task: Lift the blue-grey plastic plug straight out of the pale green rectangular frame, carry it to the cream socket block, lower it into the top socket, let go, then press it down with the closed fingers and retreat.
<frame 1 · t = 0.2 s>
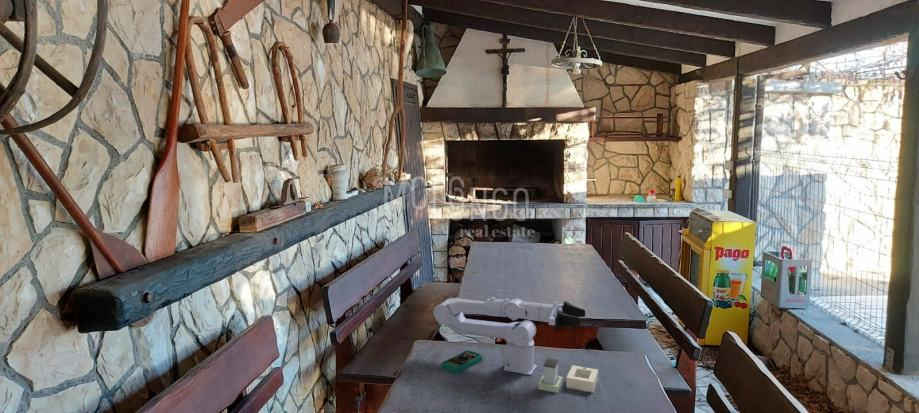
hand: (582, 317, 180), 21 cm above the table, tool horizontal, fingers open, 7 cm apart
digital multimeter: (461, 366, 193), on the table
pale green rectangular frame: (550, 385, 178), on the table
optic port: (582, 383, 180), on the table
plug: (550, 386, 178), resting in pale green rectangular frame
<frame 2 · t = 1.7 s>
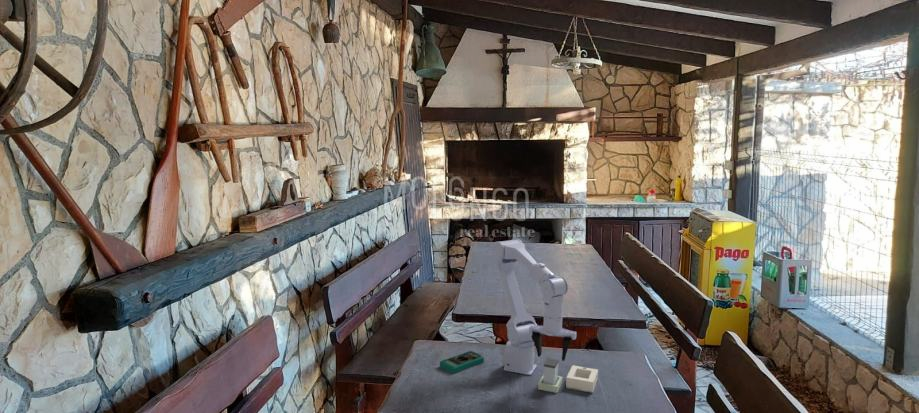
hand: (551, 357, 177), 9 cm above the table, tool pointing down, fingers open, 7 cm apart
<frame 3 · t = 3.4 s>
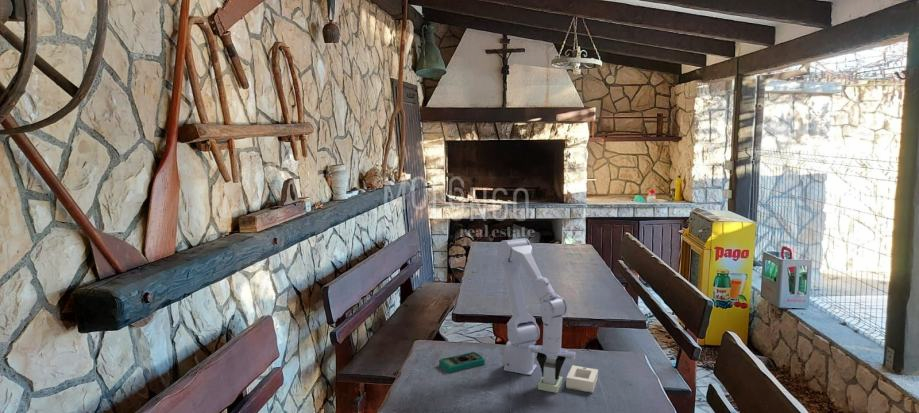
hand: (550, 377, 178), 3 cm above the table, tool pointing down, fingers closed on plug, 3 cm apart
plug: (550, 386, 178), resting in pale green rectangular frame, touching gripper
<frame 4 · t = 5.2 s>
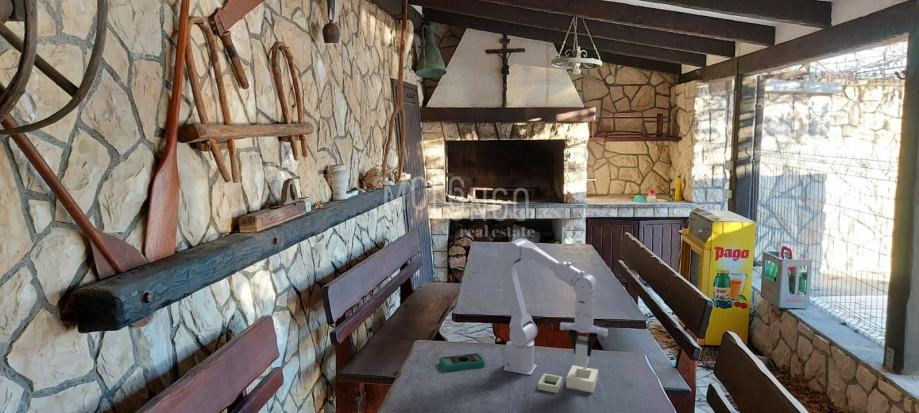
hand: (582, 354, 178), 10 cm above the table, tool pointing down, fingers closed on plug, 3 cm apart
plug: (582, 363, 179), point 7 cm above the table, touching gripper
when the fingers open (4 cm above the table, at t = 6.9 s): plug stays where it is, resting on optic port.
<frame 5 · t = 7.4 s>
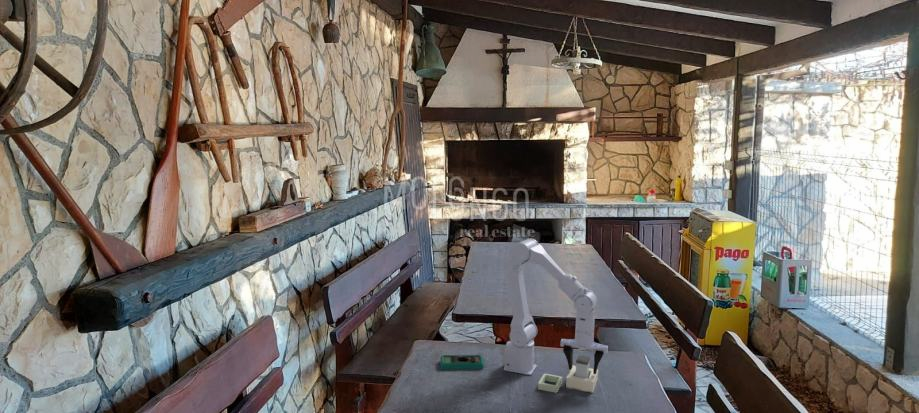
hand: (582, 370, 179), 4 cm above the table, tool pointing down, fingers open, 7 cm apart
plug: (582, 382, 180), resting on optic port
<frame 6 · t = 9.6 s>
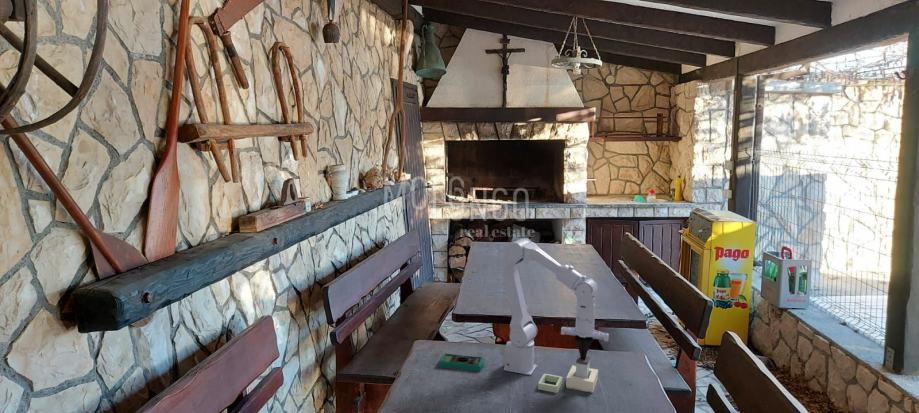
hand: (583, 358, 179), 8 cm above the table, tool pointing down, fingers closed, pressing on plug
plug: (582, 382, 180), resting on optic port, touching gripper
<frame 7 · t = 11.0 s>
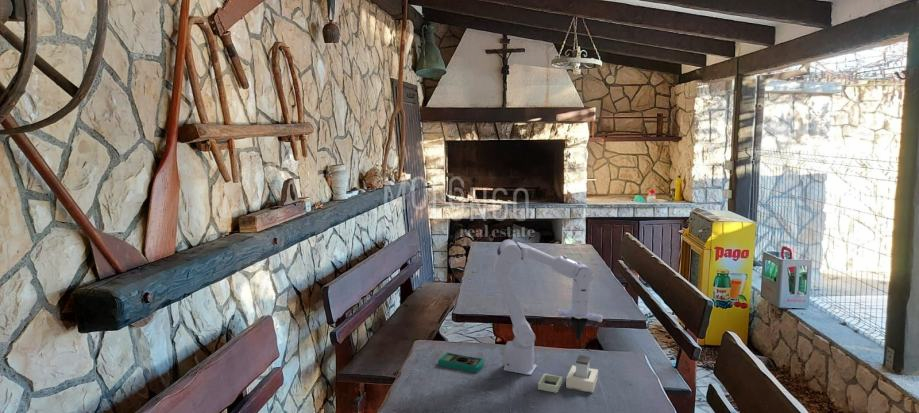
hand: (578, 339, 190), 10 cm above the table, tool pointing down, fingers closed
plug: (582, 382, 180), resting on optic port
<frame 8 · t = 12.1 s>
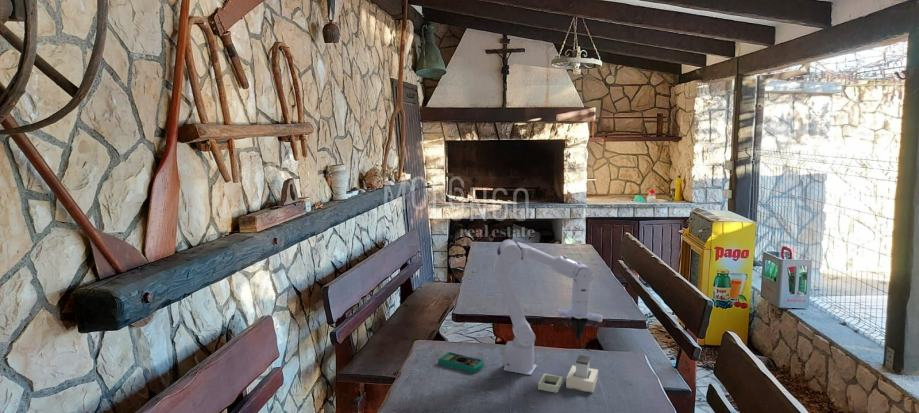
hand: (578, 339, 190), 10 cm above the table, tool pointing down, fingers closed
at the end: plug 0.1 cm off-centre on the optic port, point 0.5 cm above the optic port's base; plug tilted 0°; the gripper is holding nothing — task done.
